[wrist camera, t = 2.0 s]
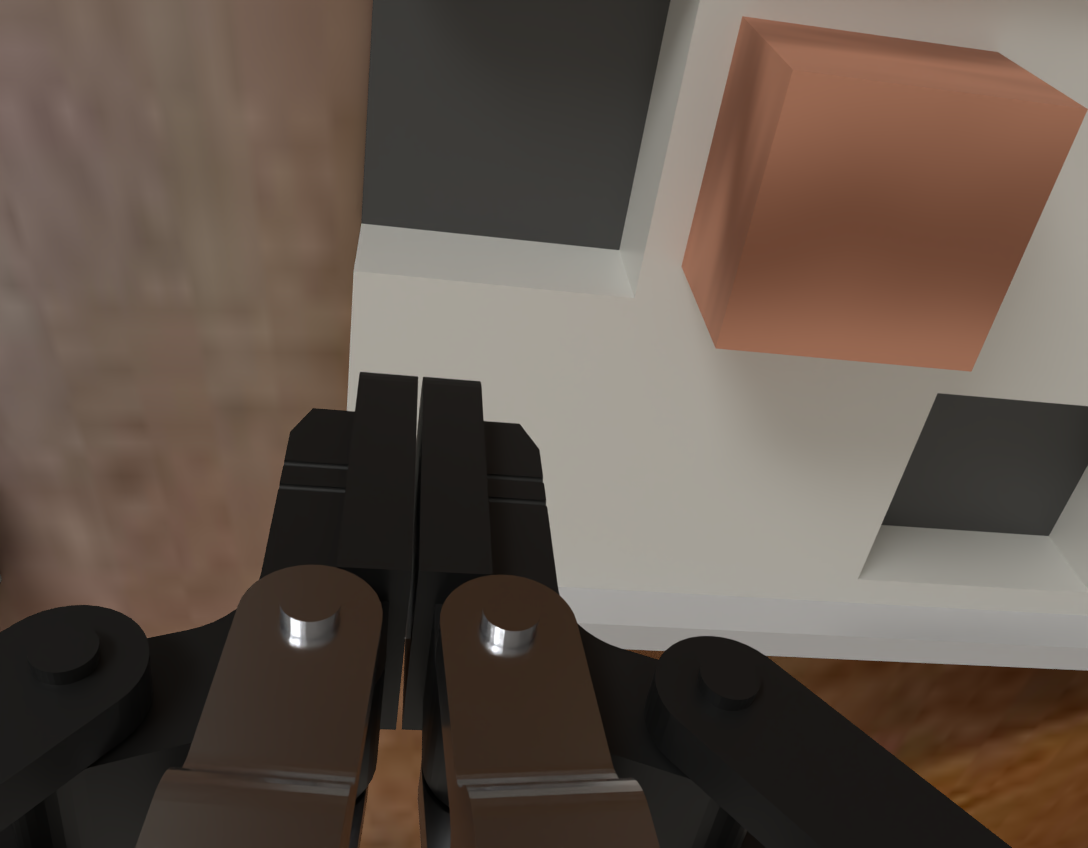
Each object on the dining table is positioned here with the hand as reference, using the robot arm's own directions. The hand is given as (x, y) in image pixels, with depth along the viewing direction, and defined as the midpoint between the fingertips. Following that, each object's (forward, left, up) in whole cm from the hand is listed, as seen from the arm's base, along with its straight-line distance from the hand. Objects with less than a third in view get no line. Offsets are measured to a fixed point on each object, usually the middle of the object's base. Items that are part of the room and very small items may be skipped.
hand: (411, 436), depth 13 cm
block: (0, +10, -12) cm, 16 cm away
